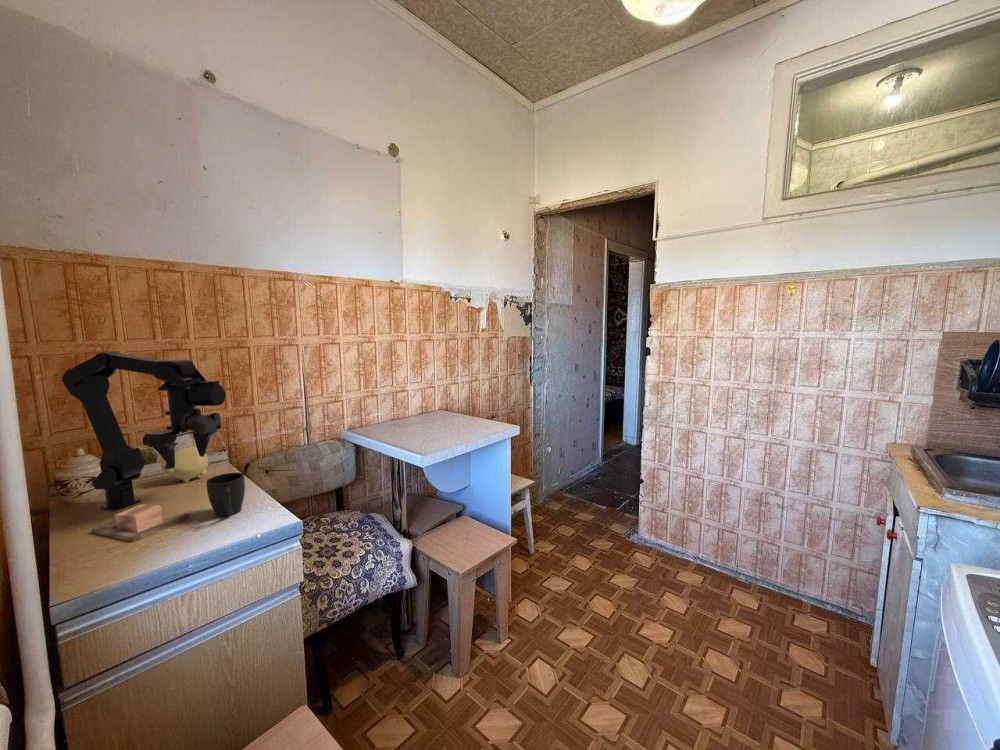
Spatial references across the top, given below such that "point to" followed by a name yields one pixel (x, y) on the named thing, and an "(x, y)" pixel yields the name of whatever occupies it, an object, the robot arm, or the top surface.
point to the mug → (226, 493)
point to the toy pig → (186, 464)
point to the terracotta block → (139, 518)
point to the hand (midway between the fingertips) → (187, 461)
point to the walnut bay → (108, 531)
